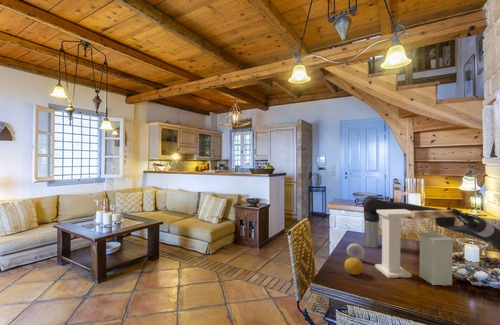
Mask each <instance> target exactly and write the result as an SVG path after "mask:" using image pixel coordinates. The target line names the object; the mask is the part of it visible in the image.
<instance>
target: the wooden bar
mask: <svg viewBox="0 0 500 325" xmlns="http://www.w3.org/2000/svg"><path fill="white" fill-rule="evenodd" d="M456 209H457V210H458V211H460V212H463V210H461V209H458V208H456ZM411 217H412V218H414V219H431V218H432V219H433V218H435V219H436V218H438V217H459V216H457V215H455V214H454V213H452V212H451V210H446V209H445V210H424V211H411Z"/></svg>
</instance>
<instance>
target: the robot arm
mask: <svg viewBox="0 0 500 325" xmlns="http://www.w3.org/2000/svg"><path fill="white" fill-rule="evenodd" d="M388 209H406V210H409V211H424V210H451V212H452V213H454V214H455V215H457V216H459V217H438V218H435V224H436V225H437V226H438V227H440V228H444V229H446V230H450V231H453V232H456V233H461V234H464V235H467V236H471V237H474V238H475V239H479V240H480V241H484V242H486V243H487V242H488V243H490V244H491V245H492V246H493V247H494V248H495V249H496V250H498V251H499V252H500V229H499V228H497V227H496V226H494V225H492V224H491V223H489V222H488V221H486V220H484V219H483V218H482V217H480V216H478V215H475V214H468V213H467V212H466V213H465V212H463V211H462V212H460V211H458V210H459V209H458V208H455V207H453V208H452V207H450V206H447V207H446V208H439V207H437V208H435V207H430V206H429V207H428V206H422V205H417V204H412V203H408V202H394V201H393V202H392V201H391V202H390V201H385V200H380V199H378V198H377V197H375V196H373V195H369V196H367V197H365V198H364V199H363V221H364V222H363V246H365V247H367V248H371V249H377V248H378V249H379V247H380V214H379V213H377V210H388ZM457 209H458V210H457ZM405 218H406V219H413V220H414V219H415V218H412V217H405ZM456 220H459V221H460V222H462V223H463V225H456Z"/></svg>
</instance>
